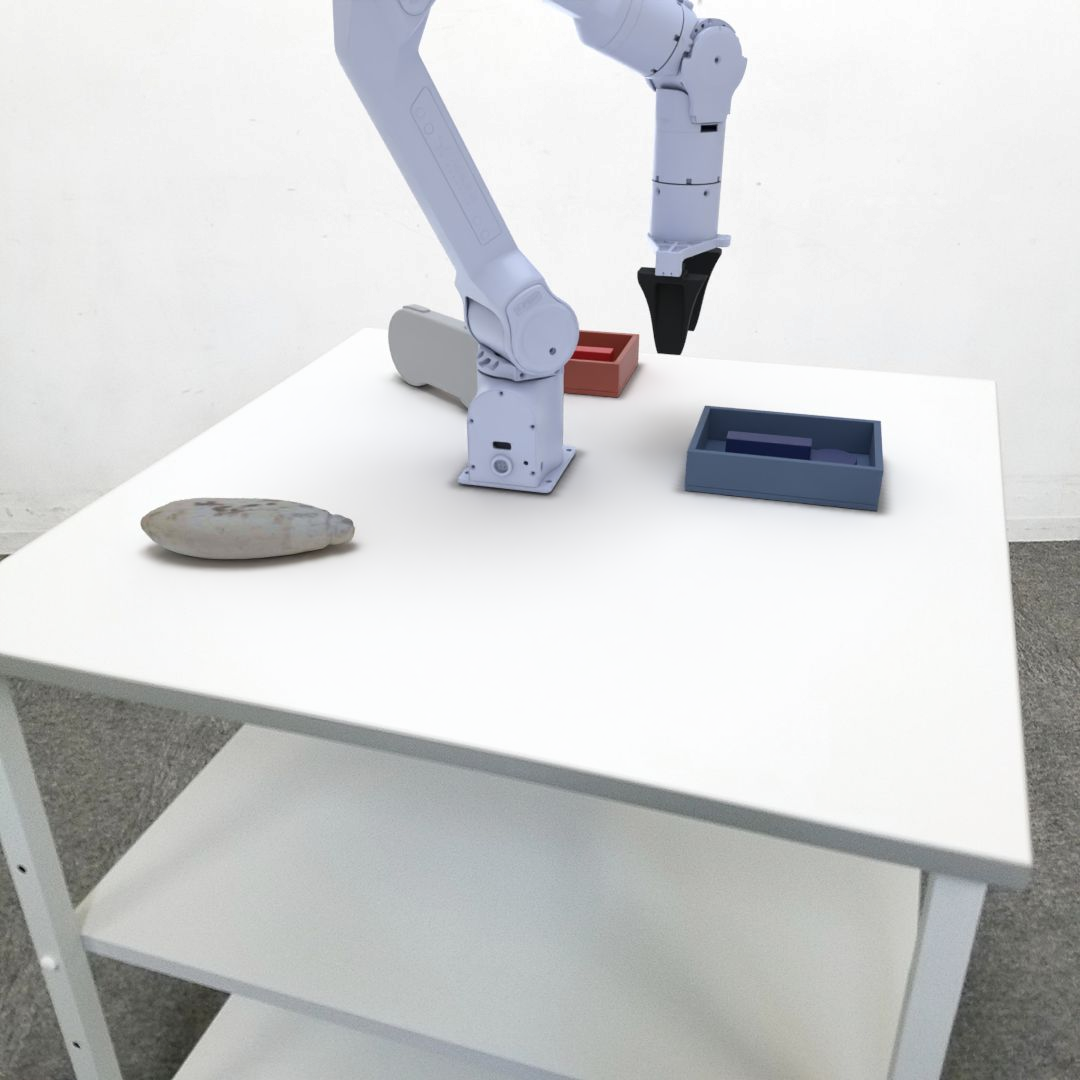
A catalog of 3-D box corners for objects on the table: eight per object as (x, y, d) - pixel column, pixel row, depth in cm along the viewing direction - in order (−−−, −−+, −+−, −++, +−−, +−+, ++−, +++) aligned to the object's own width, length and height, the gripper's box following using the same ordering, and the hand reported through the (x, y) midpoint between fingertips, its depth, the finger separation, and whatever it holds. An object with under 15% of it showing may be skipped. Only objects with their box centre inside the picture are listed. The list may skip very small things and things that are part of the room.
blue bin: (877, 511, 81) (883, 470, 80) (684, 490, 85) (687, 451, 83) (875, 458, 91) (881, 420, 89) (701, 441, 94) (704, 405, 93)
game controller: (518, 420, 99) (517, 336, 96) (499, 426, 98) (497, 340, 94) (407, 371, 113) (403, 295, 109) (389, 376, 111) (384, 299, 108)
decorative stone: (351, 564, 74) (347, 522, 72) (131, 570, 73) (122, 526, 71) (360, 526, 79) (357, 486, 78) (155, 531, 78) (147, 490, 77)
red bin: (618, 397, 105) (619, 364, 104) (476, 385, 109) (475, 352, 107) (638, 364, 115) (639, 334, 113) (507, 354, 118) (506, 324, 117)
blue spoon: (722, 471, 87) (724, 442, 86) (727, 453, 91) (729, 425, 89) (855, 484, 85) (859, 455, 83) (855, 466, 88) (859, 437, 87)
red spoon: (615, 368, 112) (616, 345, 111) (607, 380, 109) (608, 356, 107) (519, 361, 114) (519, 338, 113) (509, 372, 111) (508, 348, 110)
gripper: (724, 195, 78) (710, 369, 84) (744, 170, 91) (731, 323, 97) (632, 191, 80) (626, 361, 86) (664, 167, 92) (657, 317, 98)
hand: (676, 341), depth 92 cm, fingers open, 7 cm apart
